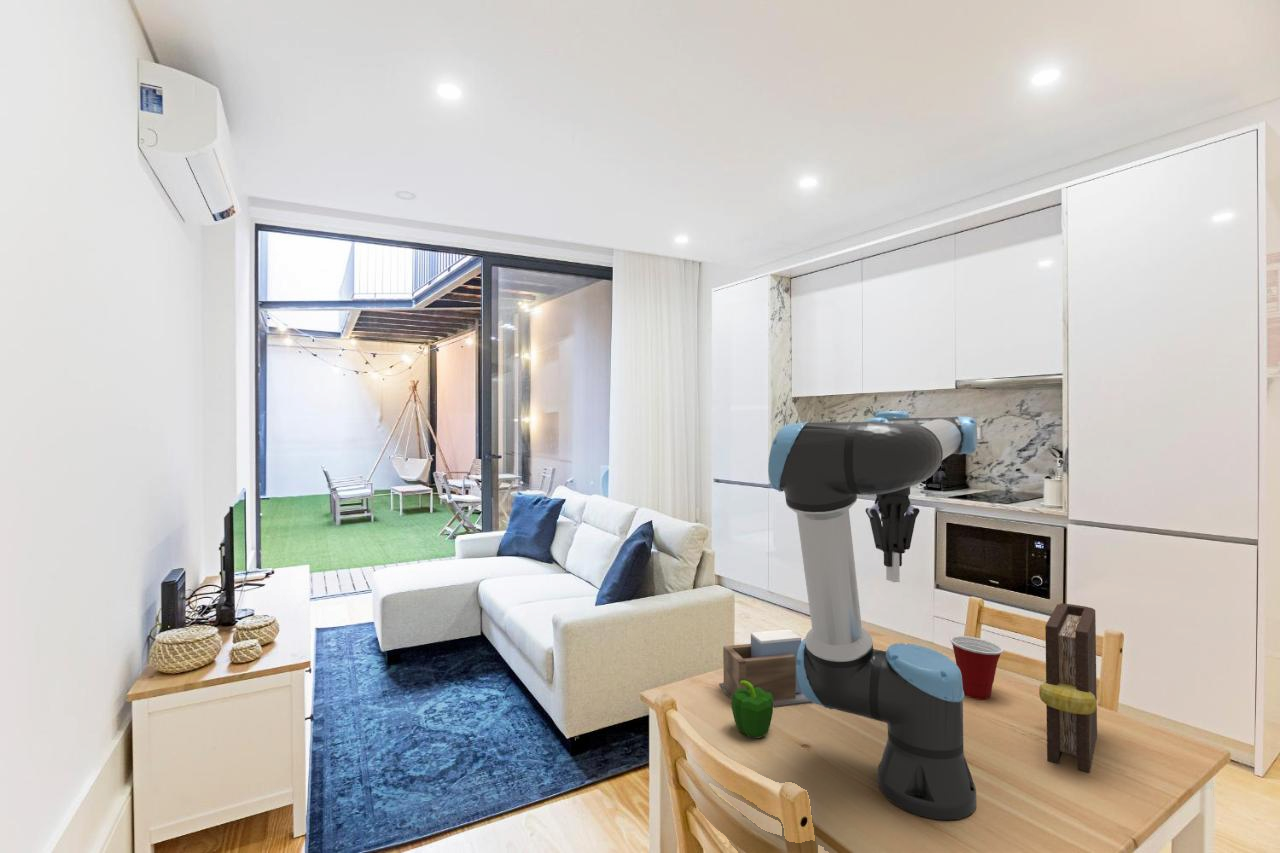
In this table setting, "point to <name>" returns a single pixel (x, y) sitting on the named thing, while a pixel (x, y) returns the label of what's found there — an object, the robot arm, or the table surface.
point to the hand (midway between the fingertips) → (892, 580)
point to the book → (1071, 684)
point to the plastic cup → (976, 664)
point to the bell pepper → (752, 710)
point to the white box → (776, 645)
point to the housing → (761, 674)
